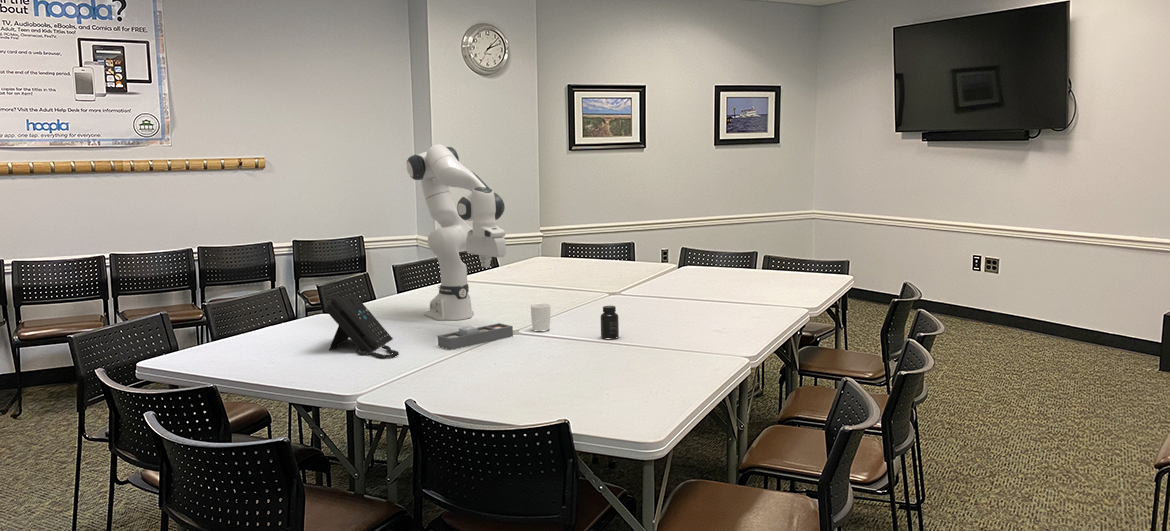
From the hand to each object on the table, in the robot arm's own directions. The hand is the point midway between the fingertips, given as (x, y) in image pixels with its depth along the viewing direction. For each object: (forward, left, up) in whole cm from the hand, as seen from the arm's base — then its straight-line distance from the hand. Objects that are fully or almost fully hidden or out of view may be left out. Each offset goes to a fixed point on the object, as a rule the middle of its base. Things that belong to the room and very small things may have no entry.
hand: (485, 267), depth 318 cm
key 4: (+2, +3, -26) cm, 27 cm away
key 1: (+2, -18, -26) cm, 32 cm away
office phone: (-18, -40, -28) cm, 52 cm away
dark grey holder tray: (+2, -7, -27) cm, 28 cm away
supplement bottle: (+35, +31, -27) cm, 54 cm away
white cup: (+6, +22, -27) cm, 36 cm away
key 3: (+2, -3, -26) cm, 27 cm away
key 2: (+2, -11, -24) cm, 26 cm away
